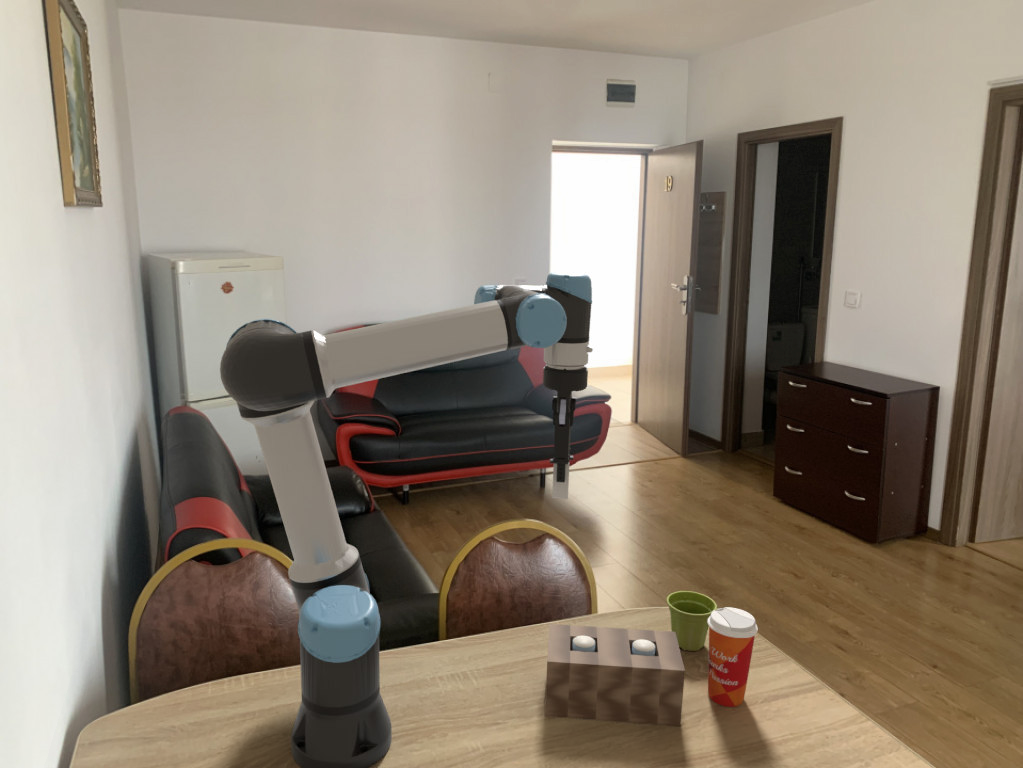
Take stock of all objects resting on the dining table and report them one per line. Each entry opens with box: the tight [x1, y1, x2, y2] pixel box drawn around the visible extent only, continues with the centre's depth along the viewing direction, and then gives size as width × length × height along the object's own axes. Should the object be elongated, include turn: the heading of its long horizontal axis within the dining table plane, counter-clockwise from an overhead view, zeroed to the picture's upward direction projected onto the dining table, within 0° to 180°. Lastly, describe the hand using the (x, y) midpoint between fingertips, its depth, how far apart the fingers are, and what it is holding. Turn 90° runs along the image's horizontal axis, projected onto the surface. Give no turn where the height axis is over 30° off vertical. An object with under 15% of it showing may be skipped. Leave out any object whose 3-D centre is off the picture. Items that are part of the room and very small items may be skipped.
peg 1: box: [572, 636, 595, 652], centre depth 132 cm, size 4×4×10 cm
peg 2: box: [632, 639, 655, 656], centre depth 131 cm, size 4×4×10 cm
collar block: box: [544, 623, 686, 727], centre depth 131 cm, size 22×12×10 cm, turn 86°
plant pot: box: [666, 590, 718, 652], centre depth 150 cm, size 9×9×9 cm
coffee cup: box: [707, 606, 759, 708], centre depth 132 cm, size 8×8×15 cm
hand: (560, 497), depth 136 cm, fingers closed
